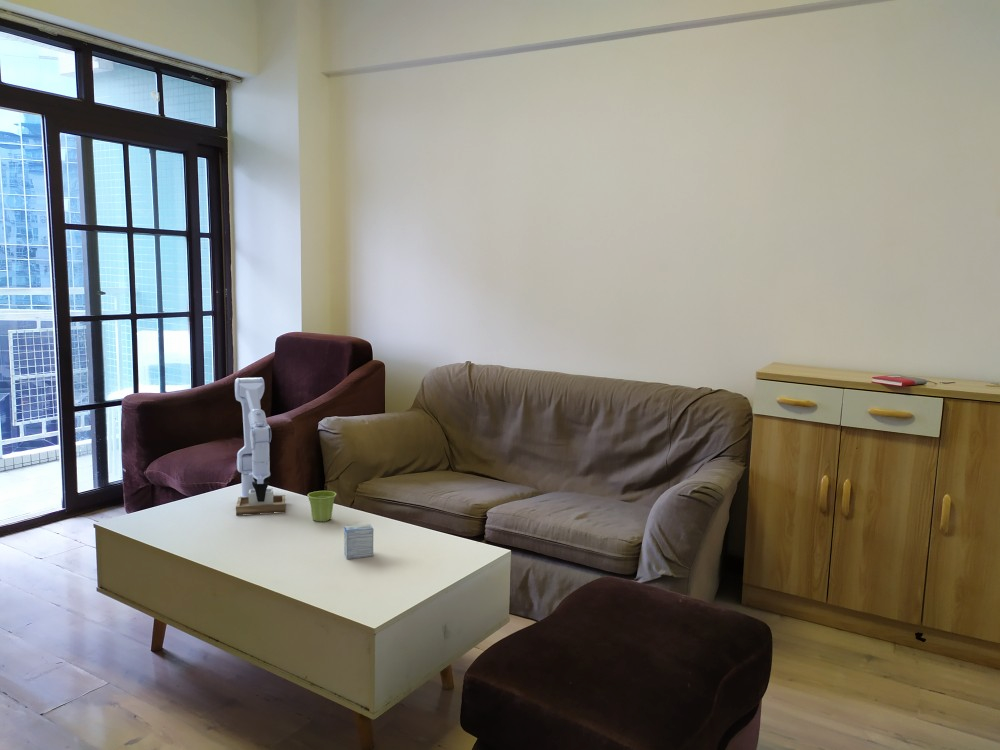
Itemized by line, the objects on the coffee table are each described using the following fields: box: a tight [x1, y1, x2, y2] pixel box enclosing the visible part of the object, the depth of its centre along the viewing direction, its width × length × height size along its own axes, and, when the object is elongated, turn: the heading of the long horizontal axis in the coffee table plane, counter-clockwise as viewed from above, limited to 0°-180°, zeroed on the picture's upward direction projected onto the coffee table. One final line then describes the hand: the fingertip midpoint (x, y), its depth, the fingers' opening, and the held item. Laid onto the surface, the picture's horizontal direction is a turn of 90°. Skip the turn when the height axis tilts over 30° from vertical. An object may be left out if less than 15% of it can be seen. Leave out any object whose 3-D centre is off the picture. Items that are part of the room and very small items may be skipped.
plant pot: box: [307, 490, 337, 522], centre depth 248 cm, size 9×9×9 cm
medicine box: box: [343, 523, 374, 560], centre depth 215 cm, size 8×4×9 cm, turn 111°
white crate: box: [249, 488, 274, 505], centre depth 258 cm, size 5×8×6 cm, turn 106°
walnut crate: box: [235, 494, 286, 516], centre depth 258 cm, size 12×16×3 cm
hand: (261, 499), depth 258 cm, fingers open, 6 cm apart
